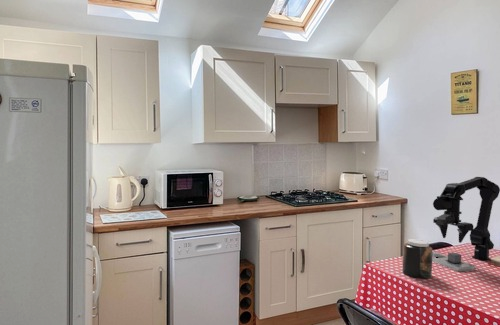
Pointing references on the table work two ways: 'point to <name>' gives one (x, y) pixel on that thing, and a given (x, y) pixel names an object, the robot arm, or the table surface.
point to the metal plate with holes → (457, 267)
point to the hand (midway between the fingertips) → (451, 240)
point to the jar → (417, 259)
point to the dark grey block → (454, 258)
